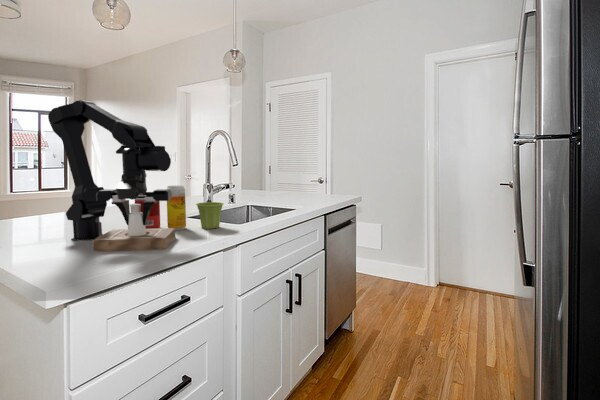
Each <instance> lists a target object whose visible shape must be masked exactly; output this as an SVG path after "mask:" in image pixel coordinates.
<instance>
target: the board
mask: <svg viewBox="0 0 600 400" xmlns="http://www.w3.org/2000/svg"><path fill="white" fill-rule="evenodd" d="M102 234H103V233H102ZM127 234H128V228H121V229H120V228H119V229H115V228H114V229H110V231H109V230H108V231H107V232H105V233H104V234H103V235H101V236H100V237H98V238H96V239H94V240H92V243H93V244H92V246H93V252H113V251H114V252H115V251H120V252H121V251H144V250H145V251H146V250H148V251H149V250H151V251H152V250H166V249H167V248H168V247H169V246H170V245H171V243H172V242H173V241H174V240H175V239H176V230H175V228H168V227H166V228H165V227H163V228H162V227H161V228H158V229H146V235H142V236H127Z"/></svg>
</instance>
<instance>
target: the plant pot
mask: <svg viewBox="0 0 600 400" xmlns="http://www.w3.org/2000/svg"><path fill="white" fill-rule="evenodd" d="M223 205H224V202H218V201H217V202H215V201H212V202H211V201H206V202H197V203H196V204H195V206H197V210H198V215H199V218H200V227H201V229H206V230H209V229H210V230H212V229H215V228H216V229H218V228H220V224H221V223H220V222H221V215H222V209H223Z"/></svg>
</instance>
